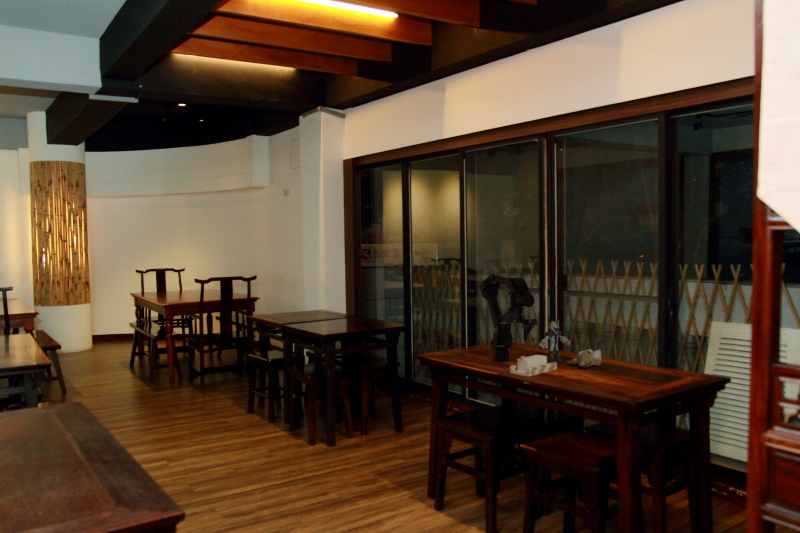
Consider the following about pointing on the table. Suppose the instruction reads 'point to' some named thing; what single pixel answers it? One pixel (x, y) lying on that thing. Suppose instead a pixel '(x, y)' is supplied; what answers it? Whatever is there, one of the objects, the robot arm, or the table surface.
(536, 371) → the cradle
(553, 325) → the robot
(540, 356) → the white bar with tab
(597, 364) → the ceramic sculpture
